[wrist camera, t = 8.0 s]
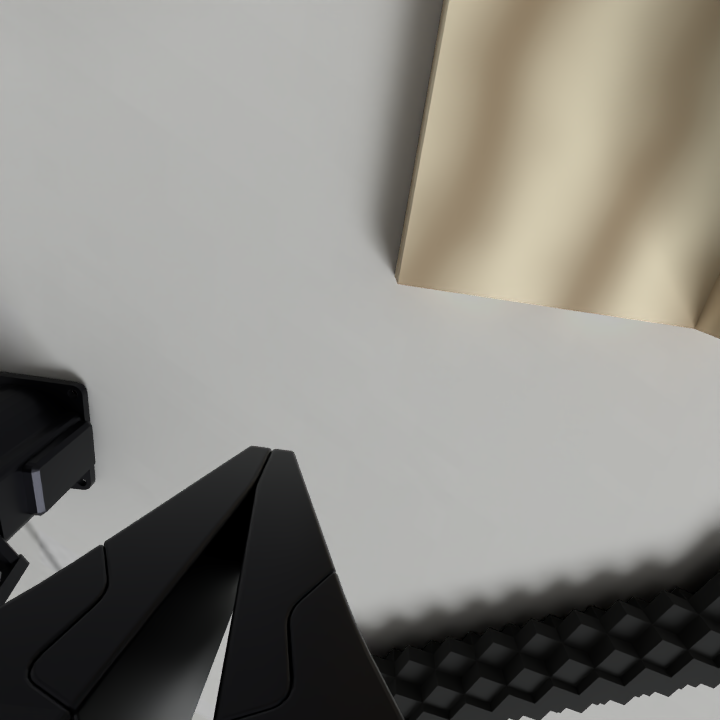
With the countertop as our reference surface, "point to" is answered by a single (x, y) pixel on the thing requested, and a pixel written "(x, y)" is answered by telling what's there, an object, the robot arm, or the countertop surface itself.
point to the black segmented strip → (563, 661)
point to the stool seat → (572, 158)
